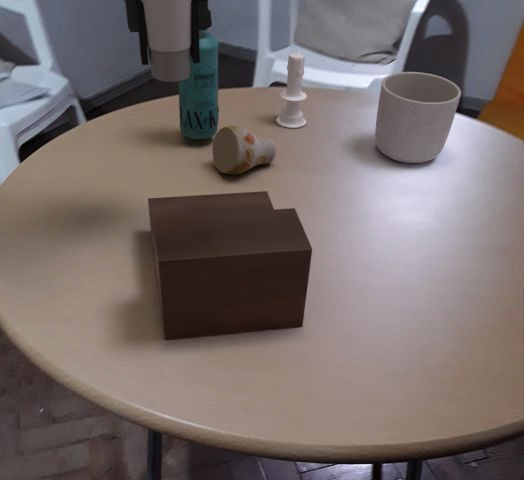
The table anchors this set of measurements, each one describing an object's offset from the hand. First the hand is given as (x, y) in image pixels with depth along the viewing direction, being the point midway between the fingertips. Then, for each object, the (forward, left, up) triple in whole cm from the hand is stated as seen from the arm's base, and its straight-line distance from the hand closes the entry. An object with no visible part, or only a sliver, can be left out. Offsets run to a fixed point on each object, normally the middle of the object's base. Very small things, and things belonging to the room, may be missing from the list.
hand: (170, 59), depth 74 cm
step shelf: (+15, +4, -21) cm, 26 cm away
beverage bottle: (-22, +6, -21) cm, 32 cm away
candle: (-27, +23, -21) cm, 42 cm away
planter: (-14, +40, -21) cm, 47 cm away
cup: (0, 0, -2) cm, 2 cm away
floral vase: (-12, +12, -21) cm, 27 cm away
